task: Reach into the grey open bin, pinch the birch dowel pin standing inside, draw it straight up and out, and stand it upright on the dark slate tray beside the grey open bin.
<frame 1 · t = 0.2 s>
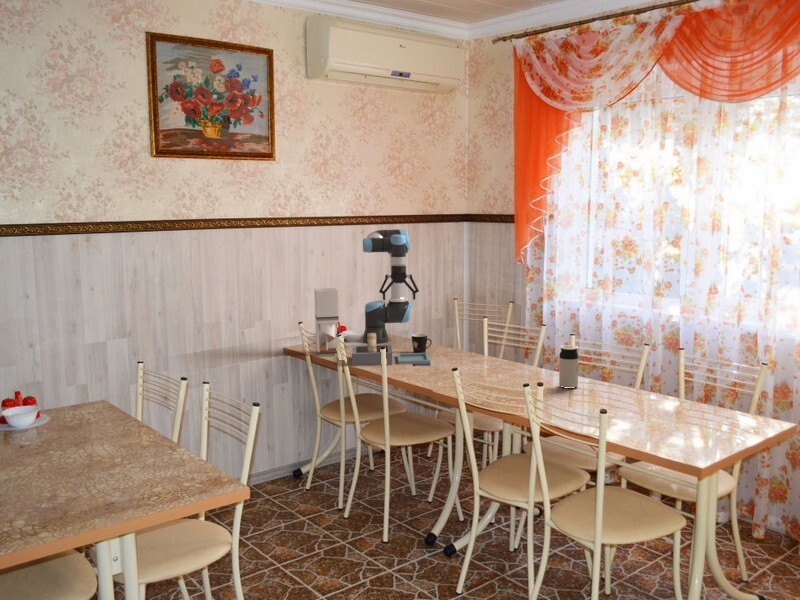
hand: (399, 306, 387), 28 cm above the table, tool pointing down, fingers open, 13 cm apart
dowel pin: (372, 360, 384), point 1 cm above the table, touching grey open bin
tray: (413, 361, 385), on the table
travel mug: (568, 387, 331), on the table
grey open bin: (372, 362, 384), on the table
coffee mug: (420, 354, 403), on the table
white coffee grinder: (327, 354, 407), on the table
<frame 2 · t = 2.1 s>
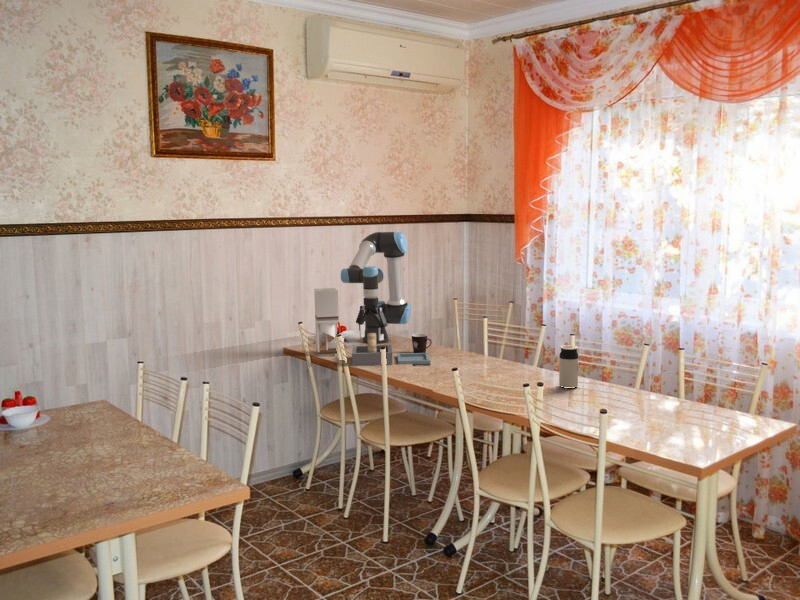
hand: (371, 338, 382), 12 cm above the table, tool pointing down, fingers open, 13 cm apart
nothing on the table moved.
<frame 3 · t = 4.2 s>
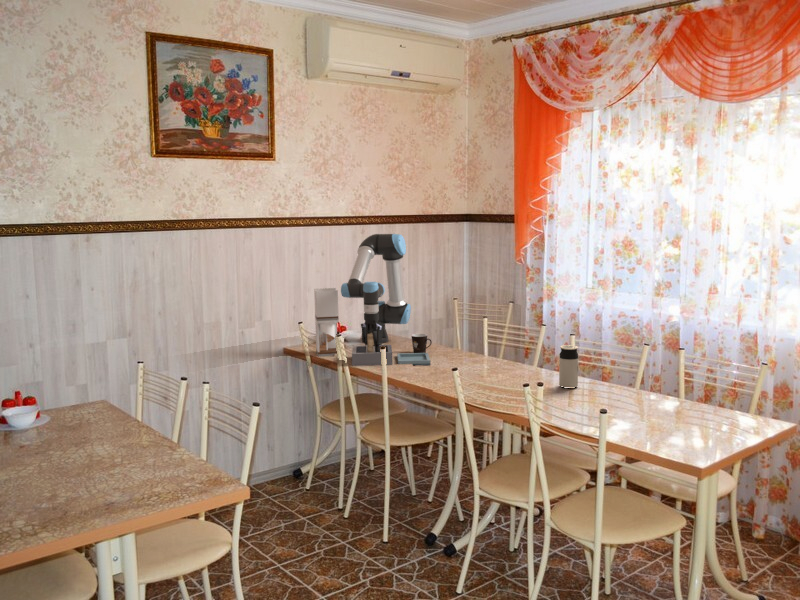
hand: (372, 357, 384), 3 cm above the table, tool pointing down, fingers closed on dowel pin, 4 cm apart
dowel pin: (372, 360, 384), point 1 cm above the table, touching grey open bin, gripper
everything else where it was.
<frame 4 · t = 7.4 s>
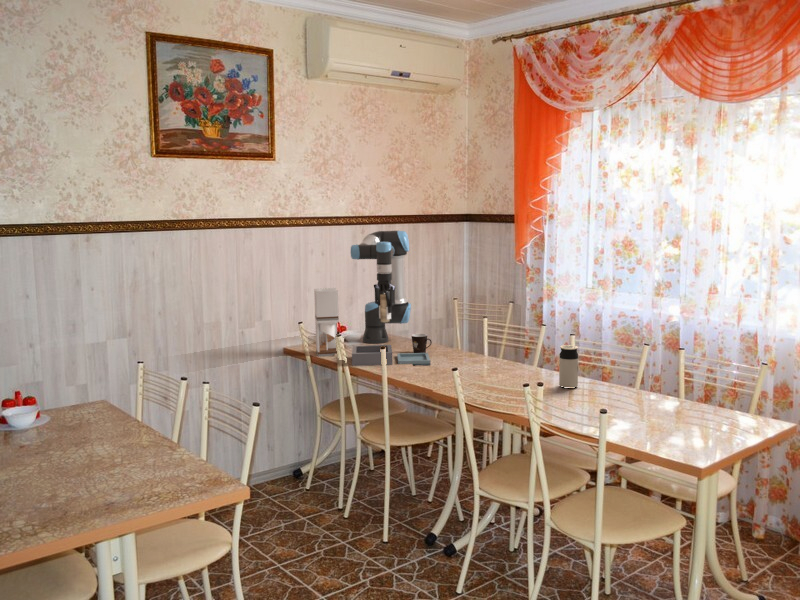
hand: (385, 318, 381), 23 cm above the table, tool pointing down, fingers closed on dowel pin, 4 cm apart
dowel pin: (385, 321, 381), point 21 cm above the table, touching gripper
everything else where it was.
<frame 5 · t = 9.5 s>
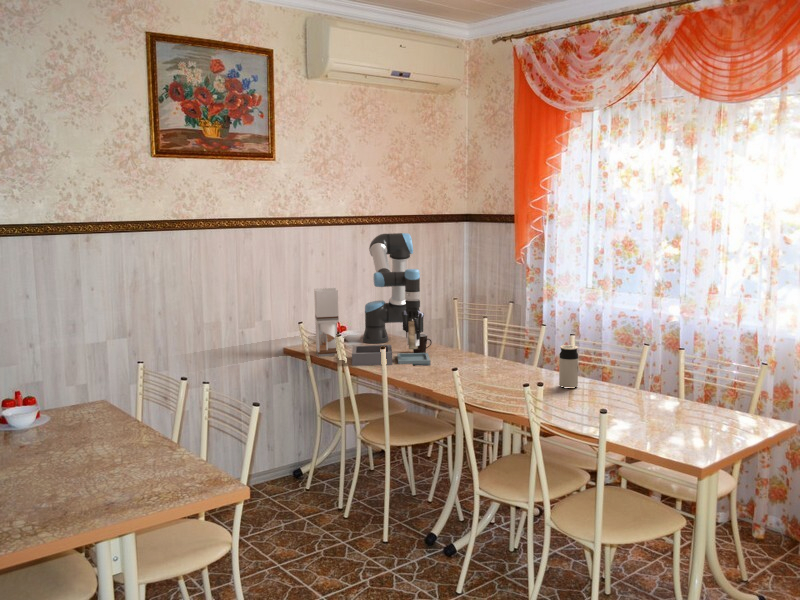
hand: (413, 345, 384), 9 cm above the table, tool pointing down, fingers closed on dowel pin, 4 cm apart
dowel pin: (413, 348, 384), point 7 cm above the table, touching gripper
everything else where it was.
when the fingers open (4 cm above the table, at t = 11.0 s): dowel pin drops 1 cm, resting on tray.
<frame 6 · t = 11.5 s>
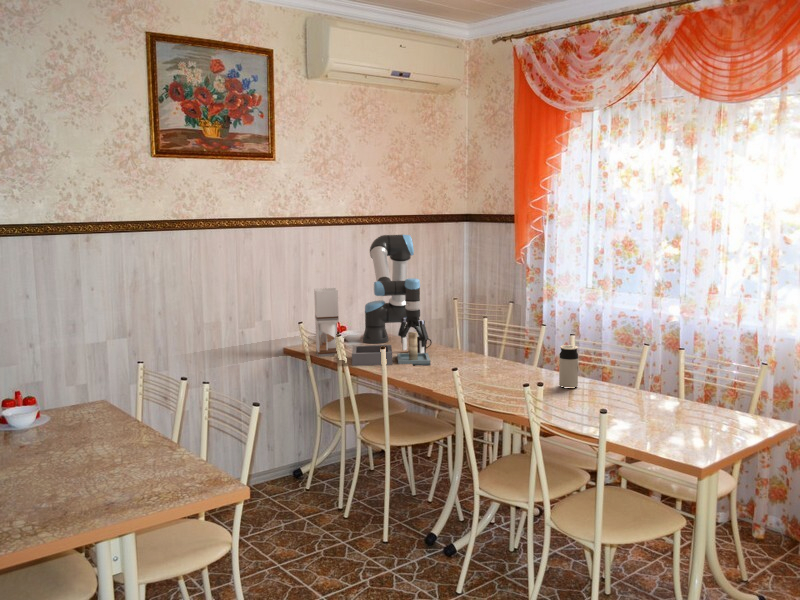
hand: (413, 351, 384), 5 cm above the table, tool pointing down, fingers open, 11 cm apart
dowel pin: (413, 359, 385), point 1 cm above the table, touching tray
everything else where it was.
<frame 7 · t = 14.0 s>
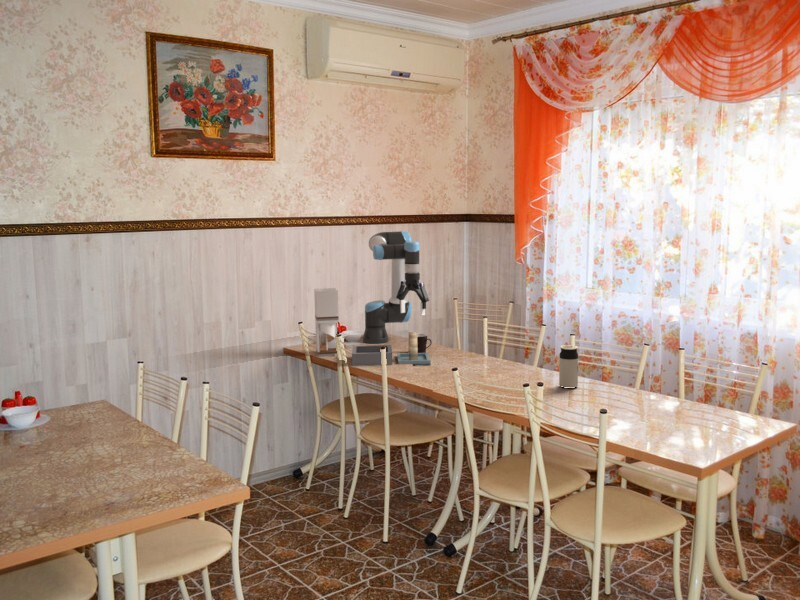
hand: (412, 314, 382), 25 cm above the table, tool pointing down, fingers open, 13 cm apart
nothing on the table moved.
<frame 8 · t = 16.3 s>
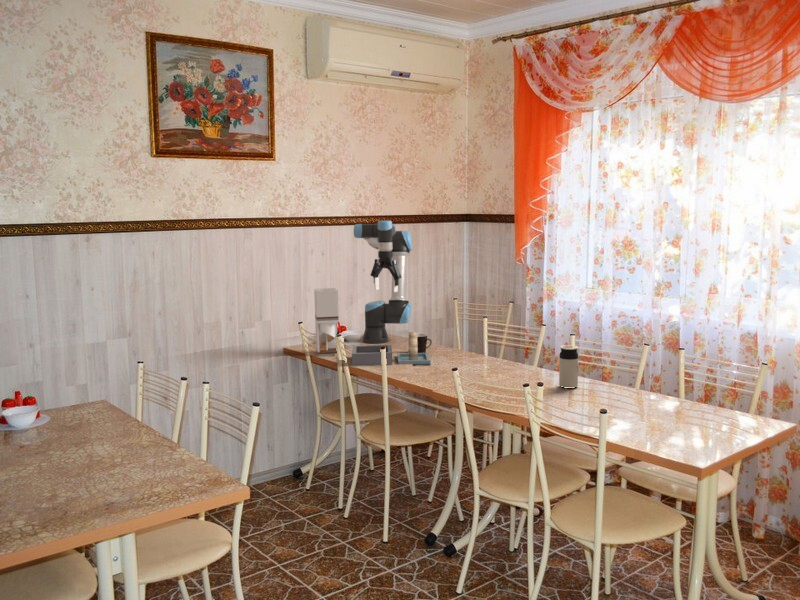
hand: (386, 290, 395), 35 cm above the table, tool pointing down, fingers open, 13 cm apart
nothing on the table moved.
at the end: dowel pin inside the target area on the tray (0.1 cm from its centre), point 1.0 cm above the tray's base; dowel pin tilted 0°; the gripper is holding nothing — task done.
